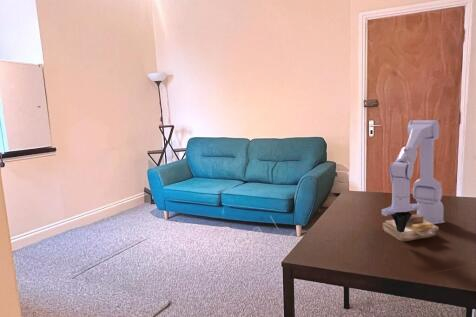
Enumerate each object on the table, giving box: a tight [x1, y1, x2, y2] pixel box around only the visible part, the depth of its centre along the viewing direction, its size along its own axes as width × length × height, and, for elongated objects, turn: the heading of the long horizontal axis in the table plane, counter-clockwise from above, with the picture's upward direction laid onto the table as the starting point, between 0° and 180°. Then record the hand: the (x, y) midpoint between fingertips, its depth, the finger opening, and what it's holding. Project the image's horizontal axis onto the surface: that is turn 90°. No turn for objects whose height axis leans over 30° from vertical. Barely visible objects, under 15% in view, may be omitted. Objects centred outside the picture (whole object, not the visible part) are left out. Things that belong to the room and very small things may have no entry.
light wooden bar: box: [412, 222, 434, 232], centre depth 125 cm, size 7×2×2 cm, turn 101°
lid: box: [384, 213, 440, 236], centre depth 130 cm, size 14×15×4 cm
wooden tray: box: [382, 222, 436, 242], centre depth 133 cm, size 14×12×3 cm
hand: (400, 231), depth 123 cm, fingers closed
